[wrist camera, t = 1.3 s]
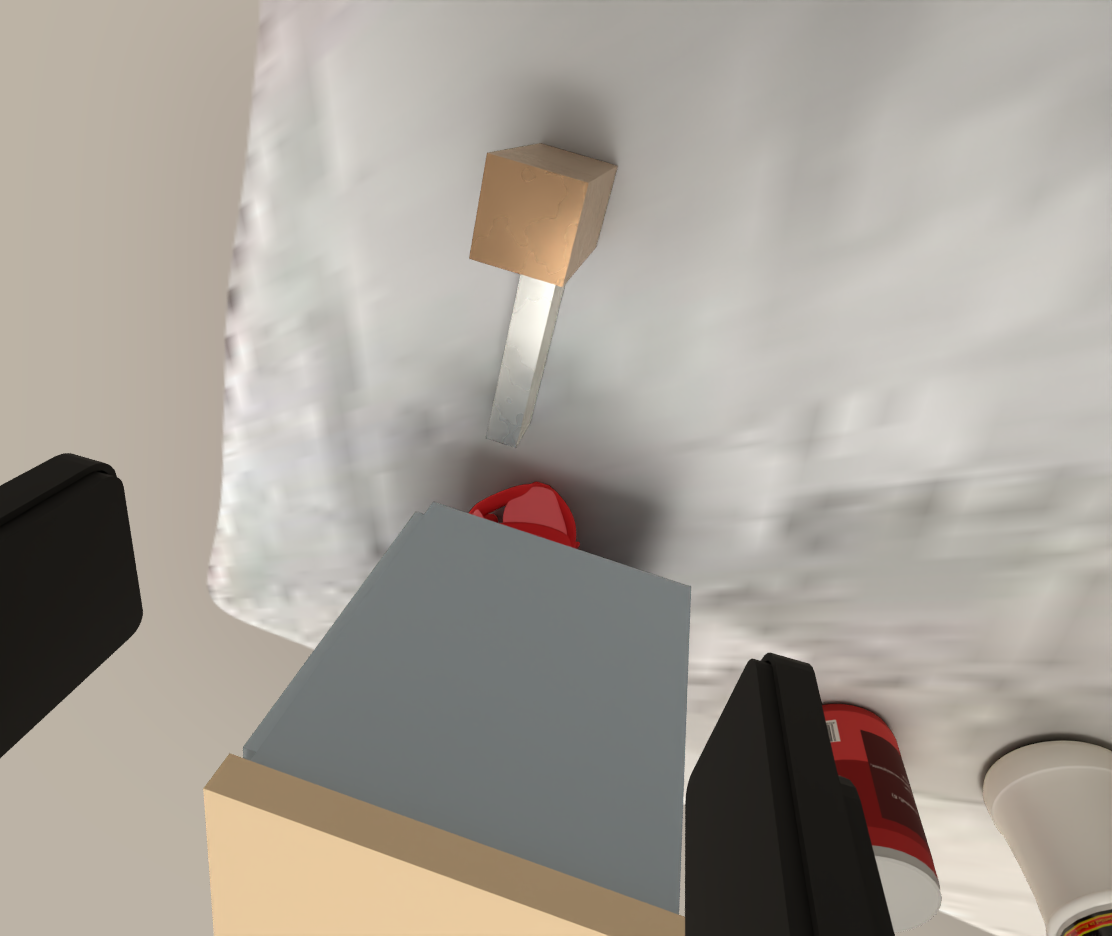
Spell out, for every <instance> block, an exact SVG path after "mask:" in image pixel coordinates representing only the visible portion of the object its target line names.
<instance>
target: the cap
mask: <svg viewBox="0 0 1112 936" xmlns="http://www.w3.org/2000/svg"><path fill="white" fill-rule="evenodd" d="M503 506H506V507H505V510H504V514H503V522H502V523H499V524H502V525H505V526H508V527H511V528H515V529H518V530H521V531H524V532H527V533H530V534H533V535H536V536H539V537H542V538H545V539H548V540H551V541H554V542H557V543H560V544H563V545H566V546H569V547H572V548H575V549H577V548H578V547H579V545H580V542H576V525H575V521H574V518H573V515H572V513H571V511H570V509H569V507H568V506H567V504H566V503H565V501H564V500H563V499H562V497H561V496H560V495H559V494H558V493H557V492H556V491H555V490H554V489H553V488H551V487H550V486H549V485H546V484H543V483H540V482H533V483H532V484H524V485H519V486H515V487H511V488H509V489H506V490H503V491H501V492H498V493H496V494H494V495H492V496H490V497H487V498H485V499H484V500H482V501H480V502H478V503H477V504H476V505H475V506H474V507H473V508H472V509H471V510H470V512H469V514H472V515H475V516H478V517H481V518H484V519H487V520H490V521H493V522H496V523H498V518H497V516H496V515H494V514H489V513H491V512H492V511H494V510H497V509H499V508H501V507H503Z"/></svg>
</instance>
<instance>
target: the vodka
mask: <svg viewBox="0 0 1112 936" xmlns="http://www.w3.org/2000/svg"><path fill="white" fill-rule="evenodd" d="M983 799H984V802H985V805H986V807H987V810H988V812H989V814H990V816H991V818H992V820H993V823H994V825H995V826H996V828H997V829H998V831H999V832H1000V833H1001V834H1002V835H1003V836H1004V838H1005V839H1006V841H1007V843H1008V845H1009V847H1010V849H1011V850H1012V852H1013V854H1014V856H1015V858H1016V860H1017V862H1018V864H1019V866H1020V868H1021V870H1022V872H1023V874H1024V876H1025V878H1026V880H1027V882H1028V884H1029V886H1030V888H1031V890H1032V892H1033V894H1034V896H1035V899H1036V902H1037V904H1038V907H1039V910H1040V912H1041V915H1042V918H1043V920H1044V923H1045V926H1046V934H1047V936H1112V751H1110V750H1108V749H1106V748H1103V747H1101V746H1098V745H1094V744H1090V743H1085V742H1078V741H1048V742H1041V743H1036V744H1031V745H1028V746H1024V747H1021V748H1019V749H1016V750H1014V751H1012V752H1010V753H1008V754H1006V755H1004V756H1003V757H1001V758H1000V759H999V760H997V761H996V762H995V763H994V764H993V765H992V766H991V768H990V769H989V770H988V772H987V774H986V776H985V779H984V786H983Z"/></svg>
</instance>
